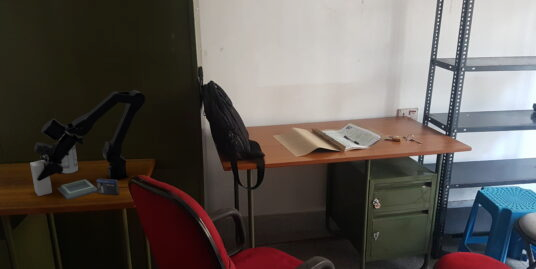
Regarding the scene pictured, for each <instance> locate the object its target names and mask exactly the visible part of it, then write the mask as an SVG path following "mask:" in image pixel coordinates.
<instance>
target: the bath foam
mask: <svg viewBox="0 0 536 269" xmlns="http://www.w3.org/2000/svg"><path fill="white" fill-rule="evenodd" d="M66 132H67V131H66ZM67 133H68V132H67ZM61 138H62V137H61ZM61 138H60V139H61ZM60 139H59V140H60ZM61 165H62V167H63V172H62V173H63V174H67V175H68V174H73V173H76V172H77V171H78V170H79V166H78V165H79V164H78V158H77V150H76V145H75V146H74V147H73V148H72V149H71V150H70V152H69V155H68V156H67V155H66V156H65V157H64V159H63V160H62V163H61ZM62 173H61V174H62Z"/></svg>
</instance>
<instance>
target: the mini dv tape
mask: <svg viewBox="0 0 536 269" xmlns="http://www.w3.org/2000/svg"><path fill="white" fill-rule="evenodd" d="M96 188H97V190H98V192H97V194H98V195H99V194H100V195H109V196H118V195H119V194H120V191H119V190H120V188H119V180H113V179H111V178H110V179H109V178H97V179H96Z"/></svg>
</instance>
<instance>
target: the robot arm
mask: <svg viewBox="0 0 536 269" xmlns="http://www.w3.org/2000/svg"><path fill="white" fill-rule="evenodd" d="M145 102H146V97H145V95H144V93H142V92H140V91H138V90H136V89H133V90H130V91H112V92H110V94H109V95H108V96H107V97H106V98H104V99H103V100H102V101H100V102H99V103H98V104H97V105H96V106H95V107H93V108H92V109H91V110H90V111H89V112H88V113H86V114H83V115H81V116H79V117H77V118H76V119H74V120H73V121H72V122H69V123H68V122H67V123H64V124H62V123H60V122H59V121H58V120H57V119H55V118H52V119H50V120H49V121H48V122H46V123H45V124H44V125H43V126H42V128H41V130H40V132H41V133H42V134H44V135H45V136H46V137H48V138H50V139H52V140H53V141H56V140H57V142H54V143H52V145H51V144H47V143H44V142H38V141H37V142H36V143H35V145H34V149H33V150H34V153H35V154H40V161H41V160H45V161H46V163H43V164H44V169H43V170H42V172H41V173H40V175H39V177H38V178H37V180H38V181H41V180H43V179H45V178H47V177H49V176H50V177H51V176H53V175H55V174H57V175H62V172H63V167H62V165H61V163H62V160H63V159H64V157H65V156H66V155H67V156H68V155H69V152H70V150H71V149H72V148H73V147H74V146H75V147H76V145H77V143H78V144H80V145H84V141H83V136H86V135H87V134H88V133H89V132H90V131H91V130H92V128H93V127H94V126H95V124H96V122H97V121H99V120H100V119H101V118H102V117H103V116H104V115H105V114H107V112H109V111H110V110H111V109H112V108H114V107H115V106H116V105H117V104H118V103H119V104H120V103H123V104H125V109H124V112H123V114H122V116H121V119H120V121H119V123H118V125H117V127H116V130H115V132H114V135H113V137H112V139H111V140H109V142H108V141H105V142H104V146H103V147H102V149H101V151H102V156H103V158H104V159H105V160H106V161H107V163H108V167H107V172H108V174H107V175H108V178H110V179H112V180H118V181H119V180H122V179H126V178H129V174H127V164H126V163H127V160H126V159H125V158H124V157H123V156H122V153H123V142H124V141H125V139H126V137H127V134H128V132H129V129H130V127H131V125H132V123H133V121H134V118H135V117H136V115H137V113H138V112H139V111H140V110H141V109H142V108H143V106H144V104H145ZM66 131H67V132H68V133H67V132H66ZM61 137H62V138H61ZM60 138H61V139H60Z"/></svg>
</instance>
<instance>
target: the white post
mask: <svg viewBox="0 0 536 269" xmlns="http://www.w3.org/2000/svg"><path fill="white" fill-rule="evenodd" d="M43 163H46V161H45V160H41V159H40V160H37V161H33V162H30V164H29V165H30V169H31V170H30V171H31V175H32V181H33V188H34V192H35V194H36V195H37V196H38V197H40V196H44V195H49V194H52V193H53V189H52V182H51V178H50V177H51V176H49V177H47V178H45V179H43V180H41V181H38V180H37V178H38V177H39V175H40V173H41V172H42V170H43V169H44V164H43Z"/></svg>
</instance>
